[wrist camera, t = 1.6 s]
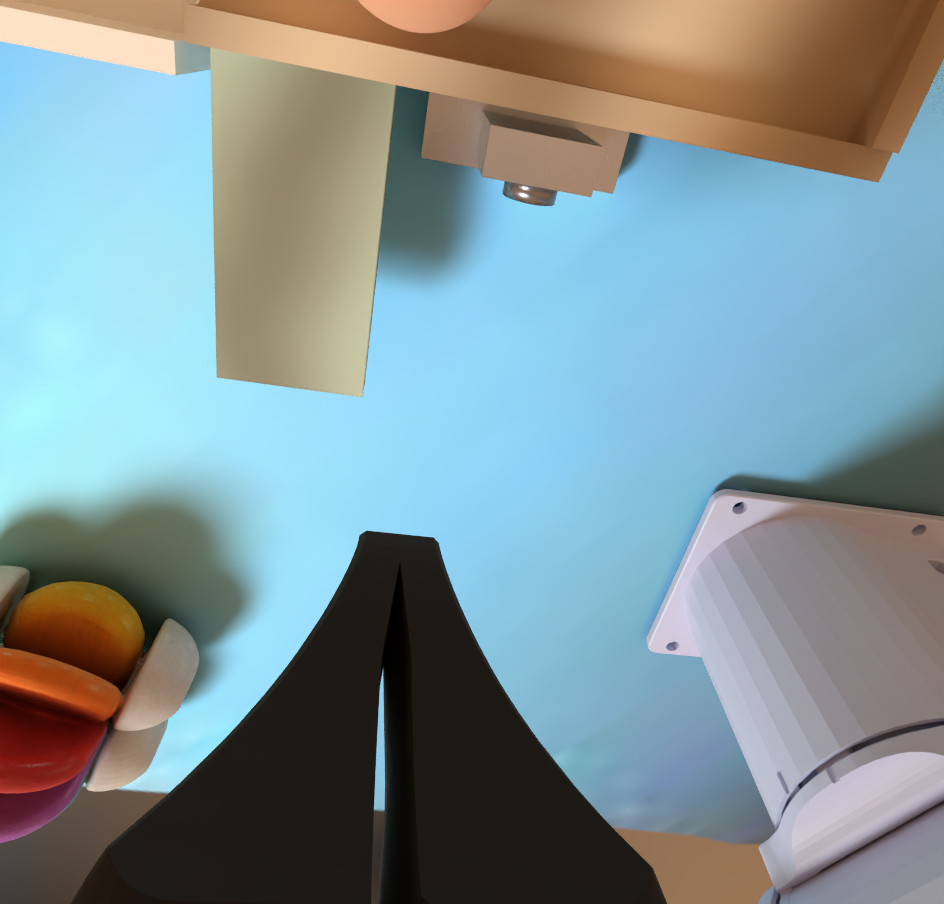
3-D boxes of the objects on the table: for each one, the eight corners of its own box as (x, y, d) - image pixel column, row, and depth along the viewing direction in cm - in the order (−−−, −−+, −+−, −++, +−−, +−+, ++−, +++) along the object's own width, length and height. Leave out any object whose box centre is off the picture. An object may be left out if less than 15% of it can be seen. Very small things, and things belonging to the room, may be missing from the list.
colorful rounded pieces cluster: (229, 597, 25) (164, 778, 19) (155, 739, 30) (82, 924, 23) (-13, 513, 23) (-177, 691, 17) (-56, 682, 27) (-200, 873, 21)
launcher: (909, -94, 14) (1031, -125, 11) (703, 408, 20) (747, 470, 18) (227, -275, 12) (164, -369, 9) (231, 340, 19) (195, 396, 16)
